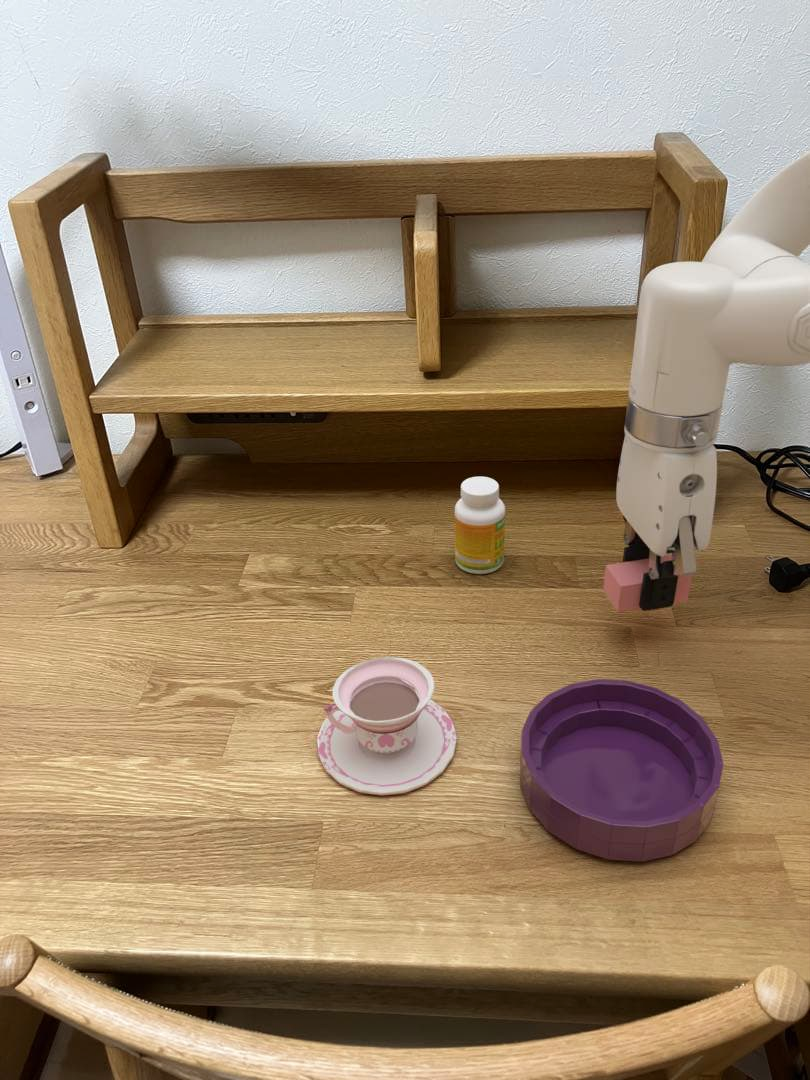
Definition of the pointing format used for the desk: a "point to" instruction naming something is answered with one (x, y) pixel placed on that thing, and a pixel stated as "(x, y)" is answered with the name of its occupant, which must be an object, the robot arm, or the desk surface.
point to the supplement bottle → (479, 526)
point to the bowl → (620, 769)
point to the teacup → (385, 728)
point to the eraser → (635, 583)
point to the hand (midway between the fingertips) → (646, 592)
